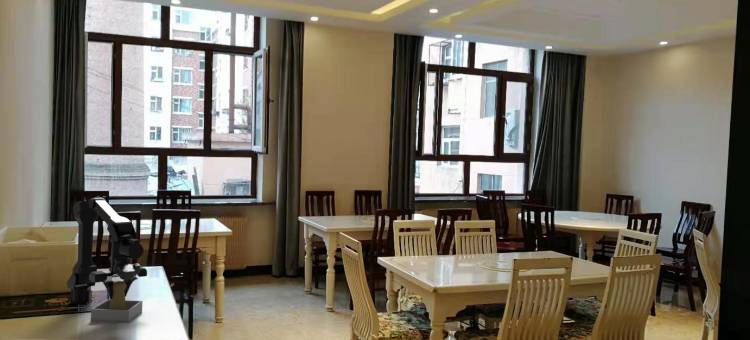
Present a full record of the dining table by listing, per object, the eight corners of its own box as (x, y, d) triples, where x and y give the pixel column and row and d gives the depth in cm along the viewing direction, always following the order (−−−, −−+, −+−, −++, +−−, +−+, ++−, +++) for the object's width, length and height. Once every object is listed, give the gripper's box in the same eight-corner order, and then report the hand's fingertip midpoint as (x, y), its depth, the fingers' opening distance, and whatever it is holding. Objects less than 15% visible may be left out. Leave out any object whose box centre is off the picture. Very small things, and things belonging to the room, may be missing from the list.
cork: (111, 308, 202) (113, 279, 202) (128, 309, 203) (130, 279, 203) (105, 313, 196) (106, 283, 196) (122, 314, 197) (124, 283, 197)
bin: (90, 321, 193) (91, 309, 193) (106, 310, 206) (107, 299, 206) (128, 322, 193) (129, 310, 193) (142, 312, 206) (142, 300, 206)
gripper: (102, 261, 187) (100, 307, 187) (155, 256, 201) (153, 298, 201) (89, 256, 194) (87, 299, 195) (141, 251, 208) (139, 292, 209)
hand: (117, 297), depth 199 cm, fingers closed on cork, 4 cm apart
